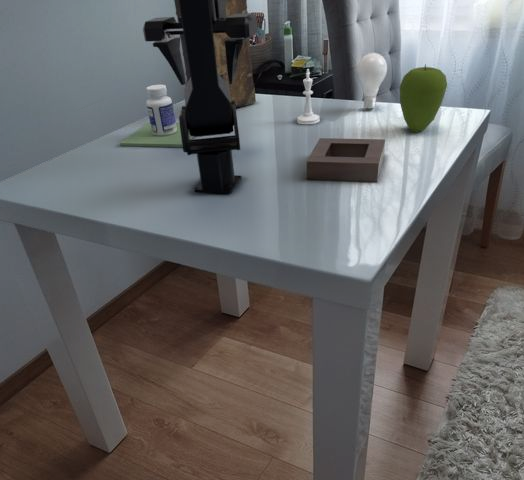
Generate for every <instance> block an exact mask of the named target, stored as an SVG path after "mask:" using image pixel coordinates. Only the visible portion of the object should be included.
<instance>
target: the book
mask: <svg viewBox="0 0 524 480" xmlns="http://www.w3.org/2000/svg"><path fill="white" fill-rule="evenodd" d="M247 1H248V0H226V17H228V16H231V15H233V14H242V13H248V3H247ZM173 2H174V8H175V15H176V18H177V22H179V17H181V14H180V8H179V1H178V0H173ZM179 37H180V45H181V50H182V57H183V62H184V63H183V64H184V70H185V72H184V74H185V77H186V79H187V78H190V77H191V76H190V70H189V64H188V57H187V51H186V45H185V39H184V34H181V35H179ZM213 37H214V46H215V55H216V64H217V73H218V74H219V75H223V76H224V77H225V79H226V82H227V85H228V86H229V93H230V101H235V107H236V108H239V107H240V108H241V107H244V106H248V105H252V104H255V103H256V102H257V99H256V88H255V83H254V77H253V64H252V52H251V44H250V39H249V40H247V41H246V42H244V43H243V46H242V48H241V51H240V54H239V58H238V63H237V68H236V73H235V78H234V82H233V84H230V83H229V79H228V72H227V61H226V51H225V41H226V40H228V39H230V37H229V36H228V35H227V34H226V33H213Z"/></svg>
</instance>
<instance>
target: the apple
mask: <svg viewBox="0 0 524 480" xmlns="http://www.w3.org/2000/svg"><path fill="white" fill-rule="evenodd" d="M447 88H448V81H447V75H446V74H445V73H444V72H443V71H442V70H441V69H439V68H436V67H431V66H427V64H424V66H420V67H414V68H412V69H410V70H409V71H408V72H407V73H405V74H404V76H403V77H402V80H401V82H400V84H399V104H400V108H401V112H402V116H403V119H404V121H405V124H406V125H407V127H408V128H409V130H410V131H411V132H413V133H420V132H424V131H425V130H426V129H427V128H428V127H429V125H431V124H432V122H434V120H435V119H436V117H437V114H438V112H439V109H440V108H441V106H442V104H443V100H444V99H445V98H444V97H445V94H446V90H447Z"/></svg>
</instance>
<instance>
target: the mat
mask: <svg viewBox="0 0 524 480" xmlns="http://www.w3.org/2000/svg"><path fill="white" fill-rule="evenodd" d="M176 127H177V131H176V132H175V133H173V134H170V135H166V136H156V135H154V134H153V133H152V129H151V124H150V121H149V122H147V123H146V124H144V125H143V126H142V127H140V128H139V129H137V130H136V131H134V132H133V133H132V134H130V135H129V136H127V137H126V138H124V139H123V140H122V141H120V142H119V146H121V147H153V148H157V147H158V148H183V145H182V139H181V131H180V122H176ZM189 133H190V132H189ZM194 138H195V137H194V136H191V135H190V140H193V139H194Z"/></svg>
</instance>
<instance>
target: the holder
mask: <svg viewBox="0 0 524 480" xmlns="http://www.w3.org/2000/svg"><path fill="white" fill-rule="evenodd" d="M385 149H386V138H385V139H384V138H338V137H337V138H334V137H333V138H332V137H319V138H318V140H317V142H316V144H315V146H314V147H313V149H312V151H311V153H310V155H309V156H308V158H307V160H306V180H313V181H314V180H319V181H340V182H341V181H344V182H365V183H367V182H369V183H378V181H379V177H380V173H381V169H382V165H383V161H384V157H385Z"/></svg>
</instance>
